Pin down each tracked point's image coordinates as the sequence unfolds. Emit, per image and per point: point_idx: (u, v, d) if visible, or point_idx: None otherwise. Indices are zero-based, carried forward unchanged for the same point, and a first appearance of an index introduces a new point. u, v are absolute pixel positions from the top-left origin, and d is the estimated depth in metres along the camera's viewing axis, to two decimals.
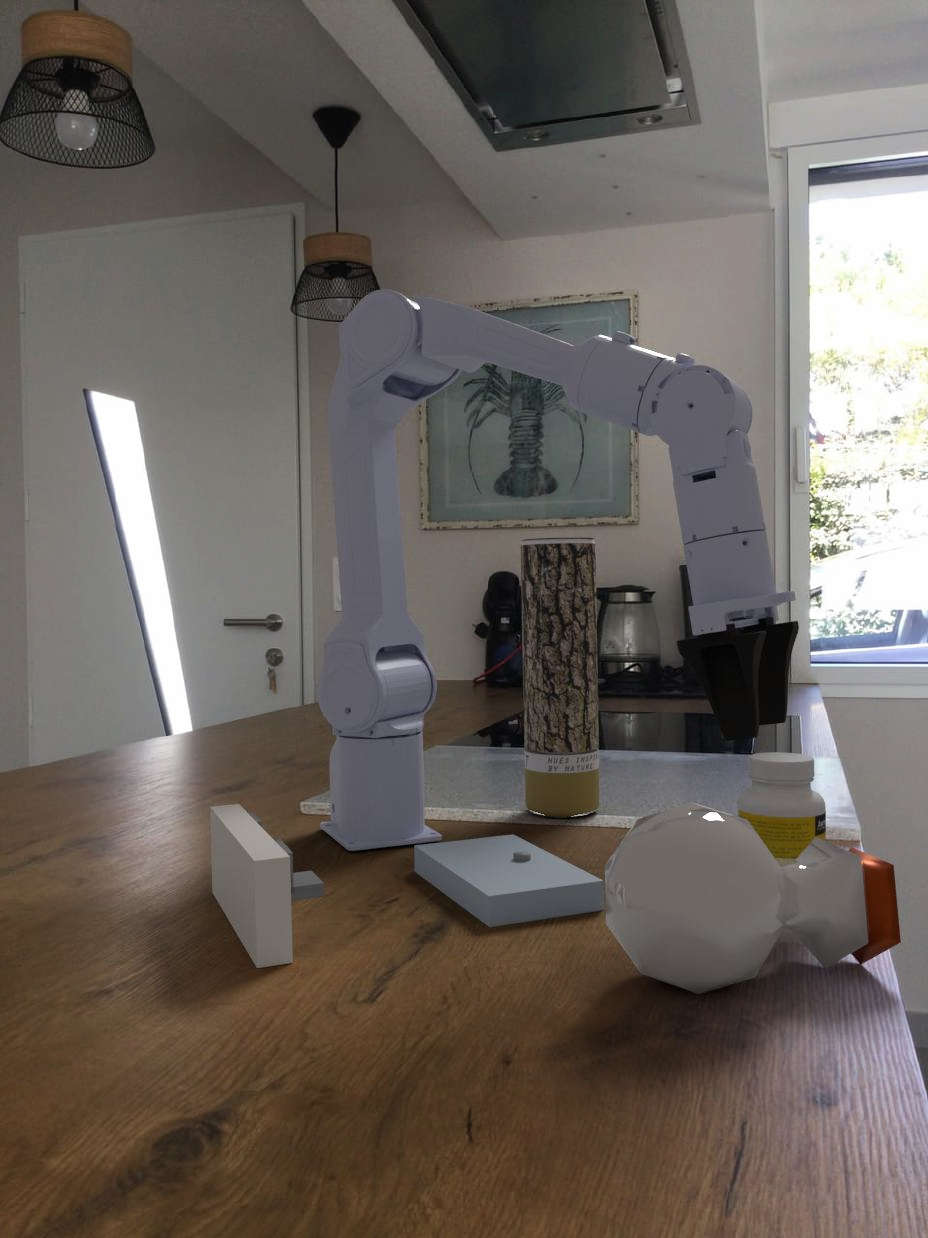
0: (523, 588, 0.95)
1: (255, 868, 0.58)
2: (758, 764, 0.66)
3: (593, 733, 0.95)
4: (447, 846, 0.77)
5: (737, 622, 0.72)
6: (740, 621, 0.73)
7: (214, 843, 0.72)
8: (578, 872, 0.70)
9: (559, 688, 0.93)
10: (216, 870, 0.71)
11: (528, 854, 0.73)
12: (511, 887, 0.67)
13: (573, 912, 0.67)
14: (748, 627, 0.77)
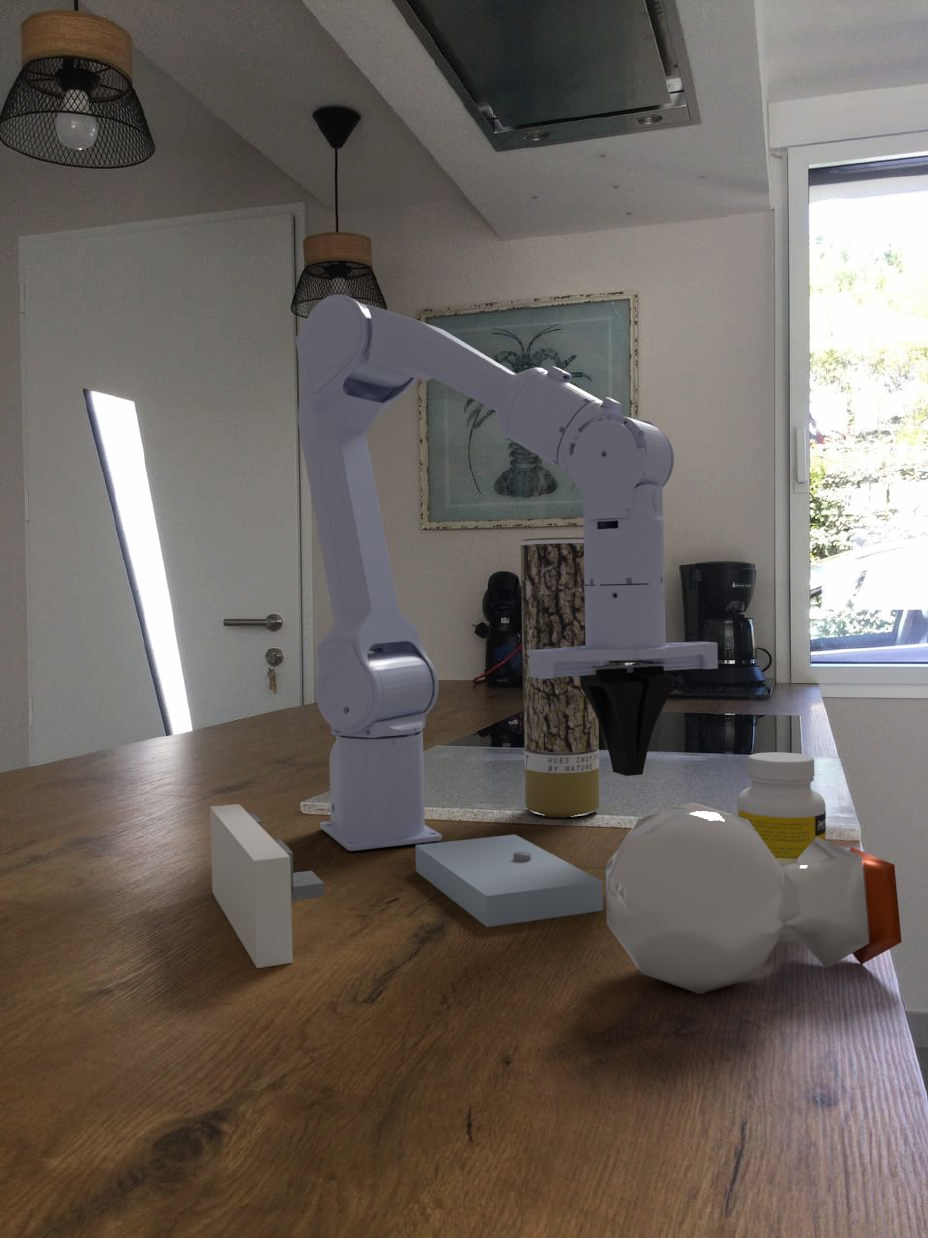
0: (523, 588, 0.95)
1: (255, 868, 0.58)
2: (758, 764, 0.66)
3: (593, 733, 0.95)
4: (448, 846, 0.77)
5: (610, 668, 0.75)
6: (619, 667, 0.76)
7: (214, 843, 0.72)
8: (577, 872, 0.70)
9: (559, 688, 0.93)
10: (216, 870, 0.71)
11: (528, 854, 0.73)
12: (509, 887, 0.67)
13: (571, 912, 0.67)
14: (627, 673, 0.77)
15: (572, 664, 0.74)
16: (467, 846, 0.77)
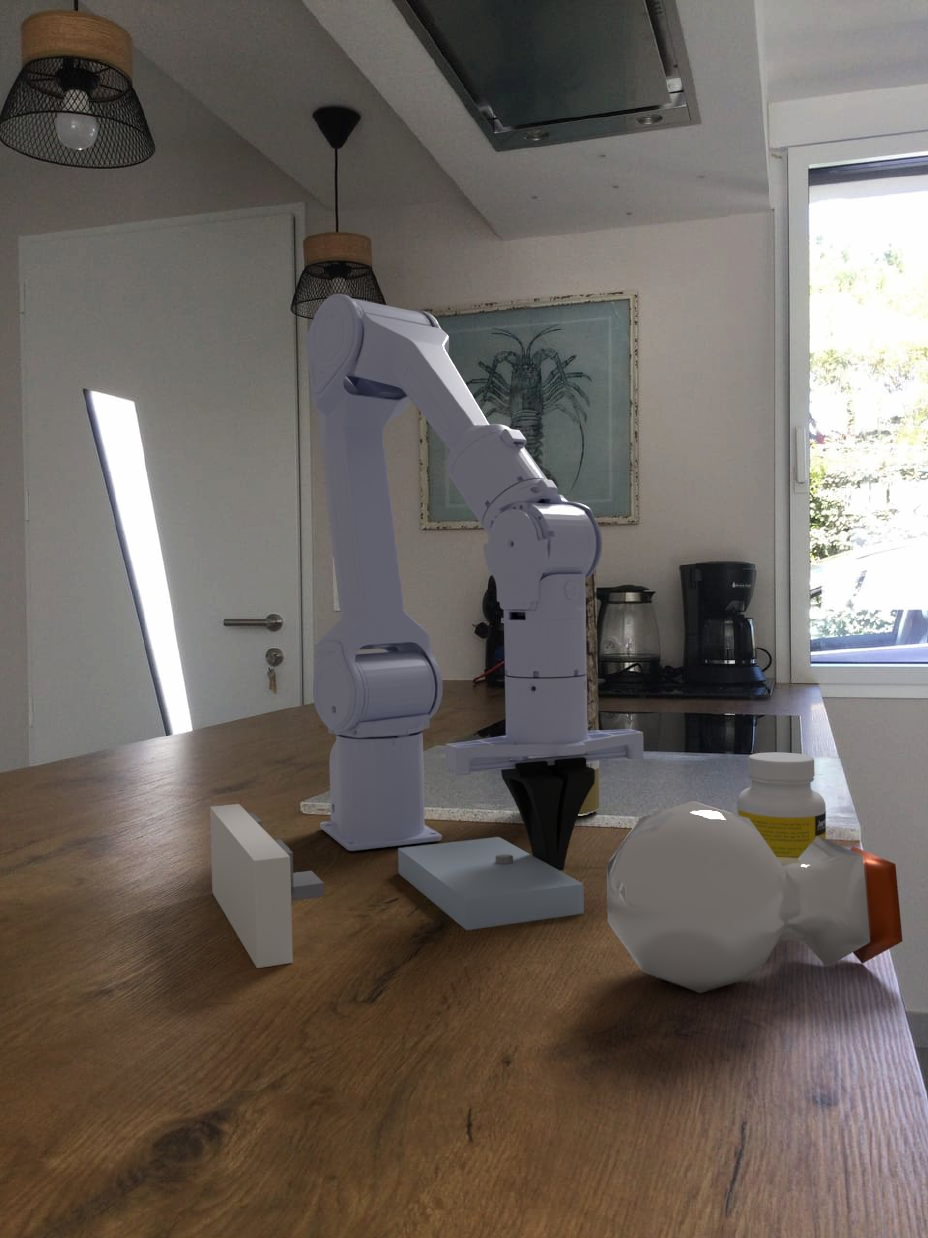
0: None
1: (255, 868, 0.58)
2: (758, 764, 0.66)
3: None
4: (431, 849, 0.77)
5: (530, 761, 0.73)
6: (540, 760, 0.73)
7: (214, 843, 0.72)
8: (559, 875, 0.69)
9: None
10: (216, 870, 0.71)
11: (510, 857, 0.73)
12: (489, 890, 0.66)
13: (552, 916, 0.66)
14: (549, 765, 0.75)
15: (490, 758, 0.72)
16: (450, 849, 0.77)
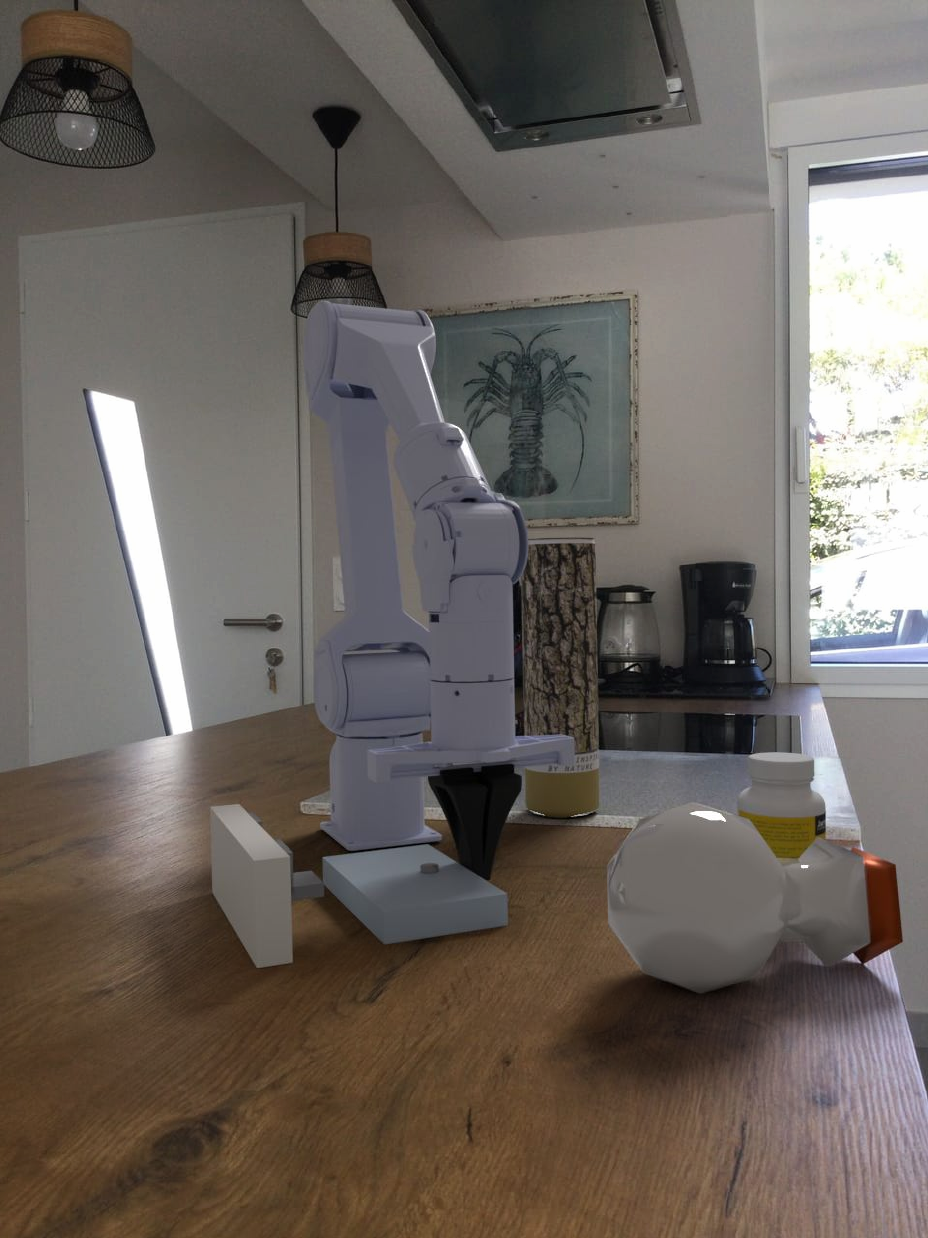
0: (523, 588, 0.95)
1: (255, 868, 0.58)
2: (758, 764, 0.66)
3: (593, 733, 0.95)
4: (356, 857, 0.75)
5: (455, 768, 0.71)
6: (466, 767, 0.71)
7: (214, 843, 0.72)
8: (483, 885, 0.67)
9: (559, 688, 0.93)
10: (216, 870, 0.71)
11: (435, 866, 0.70)
12: (409, 901, 0.64)
13: (475, 927, 0.64)
14: (476, 771, 0.72)
15: (413, 765, 0.70)
16: (376, 857, 0.74)
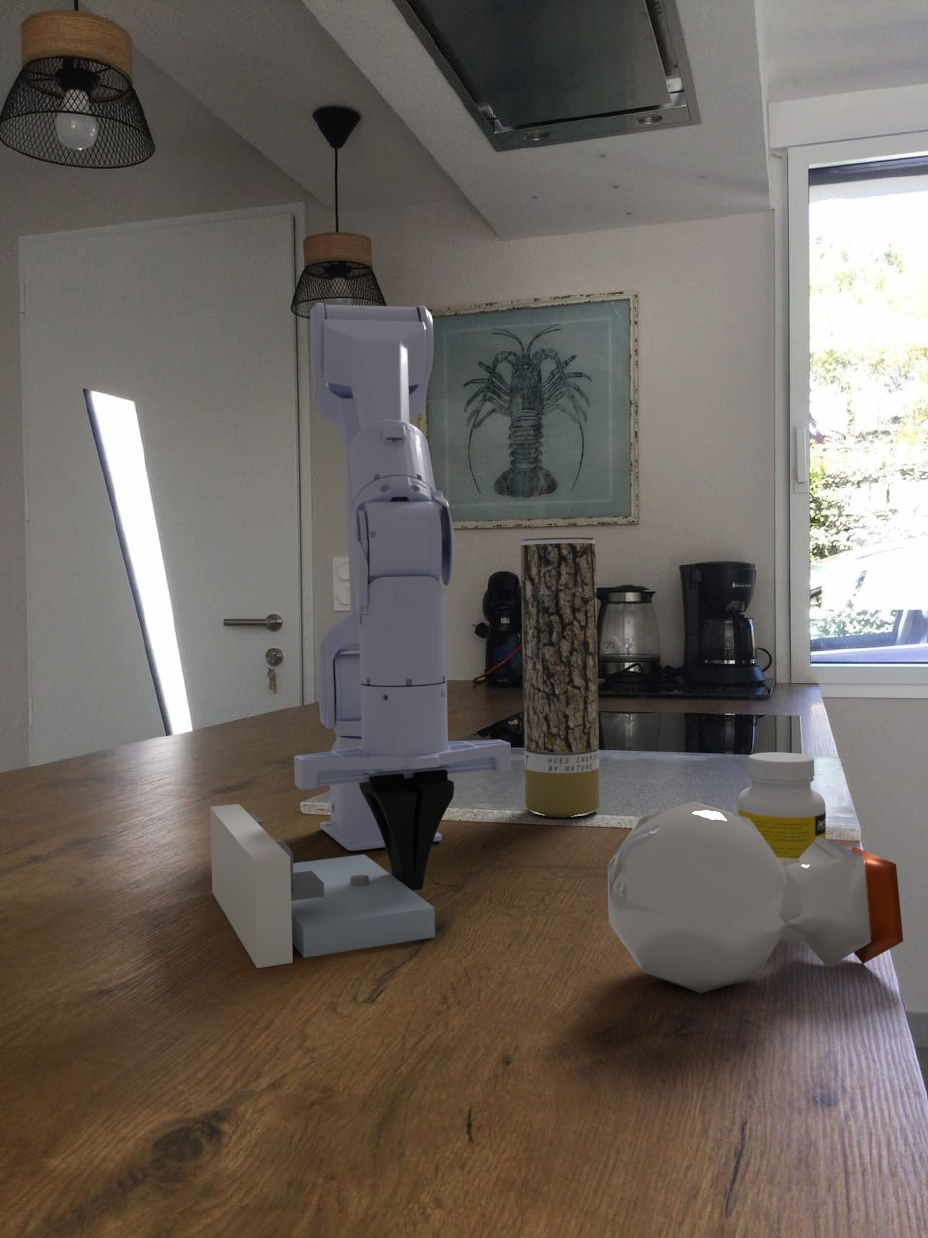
0: (523, 588, 0.95)
1: (255, 868, 0.58)
2: (757, 764, 0.66)
3: (593, 733, 0.95)
4: None
5: (386, 774, 0.69)
6: (397, 773, 0.69)
7: (214, 843, 0.72)
8: (412, 898, 0.65)
9: (559, 688, 0.93)
10: (216, 870, 0.71)
11: (366, 878, 0.68)
12: (332, 916, 0.62)
13: (400, 942, 0.62)
14: (409, 777, 0.71)
15: (341, 771, 0.68)
16: (308, 868, 0.72)
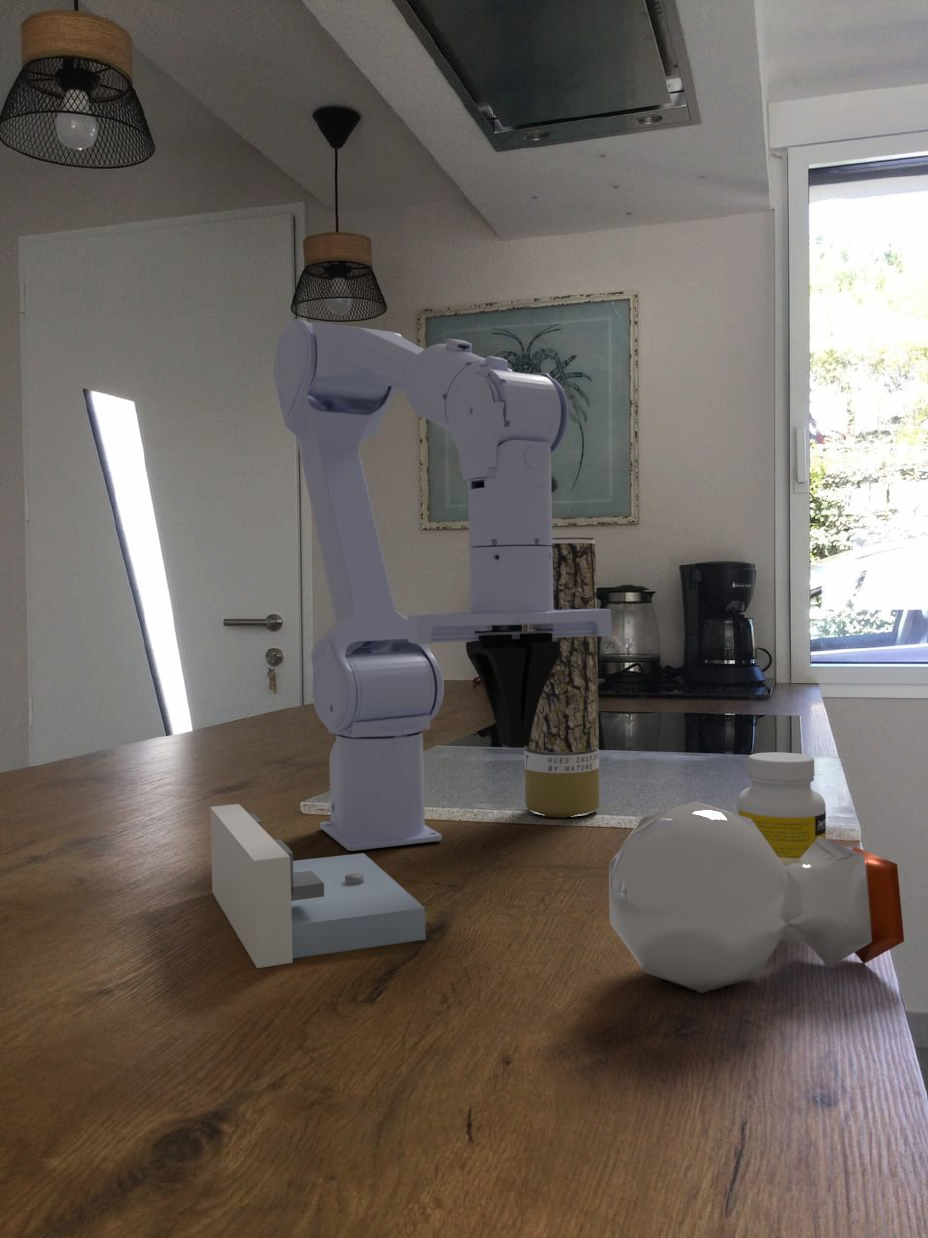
0: None
1: (255, 868, 0.58)
2: (758, 764, 0.66)
3: (593, 733, 0.95)
4: None
5: (494, 634, 0.72)
6: (505, 633, 0.72)
7: (214, 843, 0.72)
8: (404, 898, 0.65)
9: (559, 688, 0.93)
10: (216, 870, 0.71)
11: (360, 877, 0.68)
12: (322, 914, 0.62)
13: (390, 942, 0.62)
14: (515, 640, 0.73)
15: (453, 629, 0.71)
16: (305, 867, 0.72)
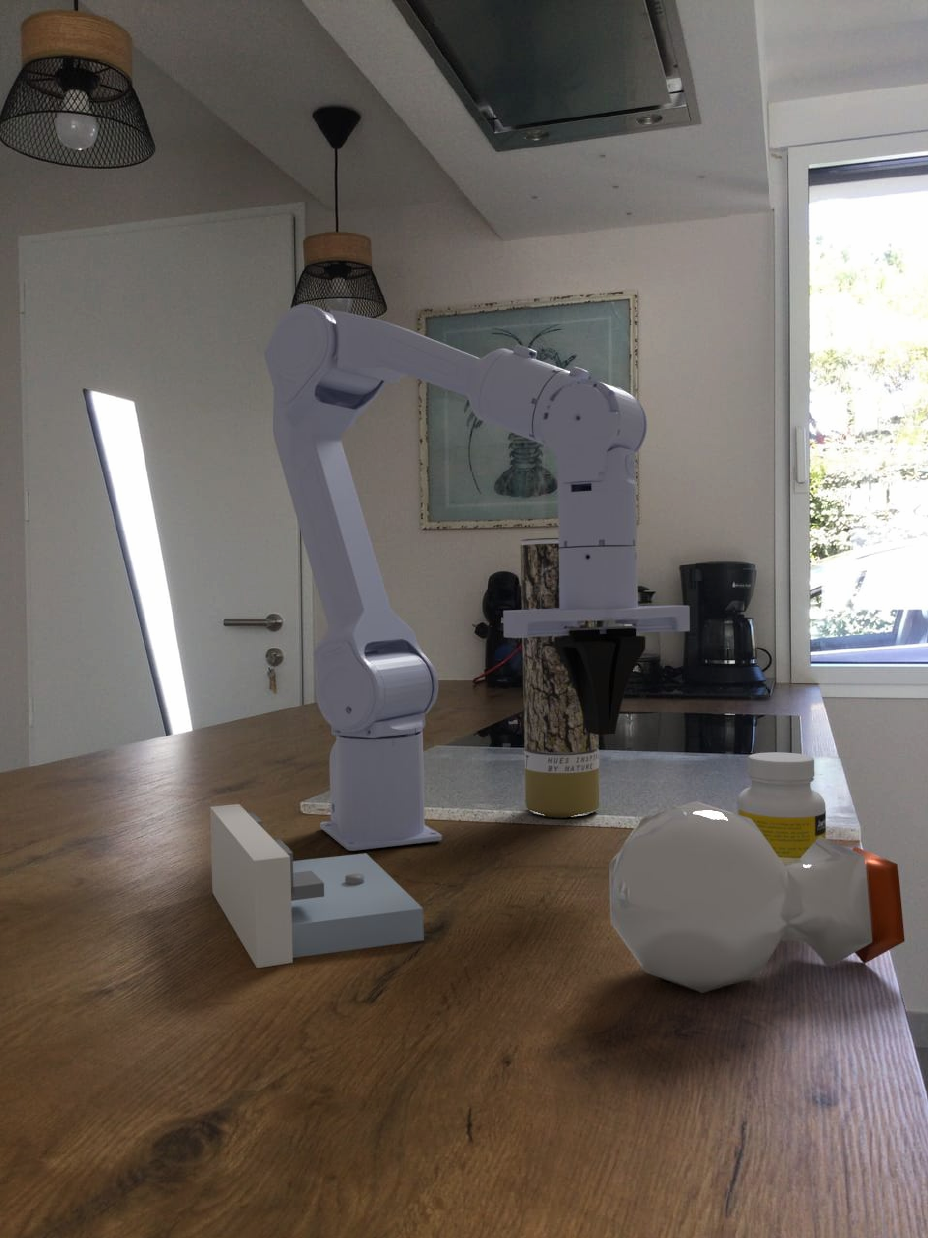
0: (523, 588, 0.95)
1: (255, 868, 0.58)
2: (758, 764, 0.66)
3: None
4: None
5: (583, 629, 0.77)
6: (592, 628, 0.77)
7: (214, 843, 0.72)
8: (403, 898, 0.65)
9: (559, 688, 0.93)
10: (216, 870, 0.71)
11: (360, 877, 0.68)
12: (320, 914, 0.62)
13: (387, 942, 0.62)
14: (600, 635, 0.78)
15: (545, 624, 0.76)
16: (307, 867, 0.73)
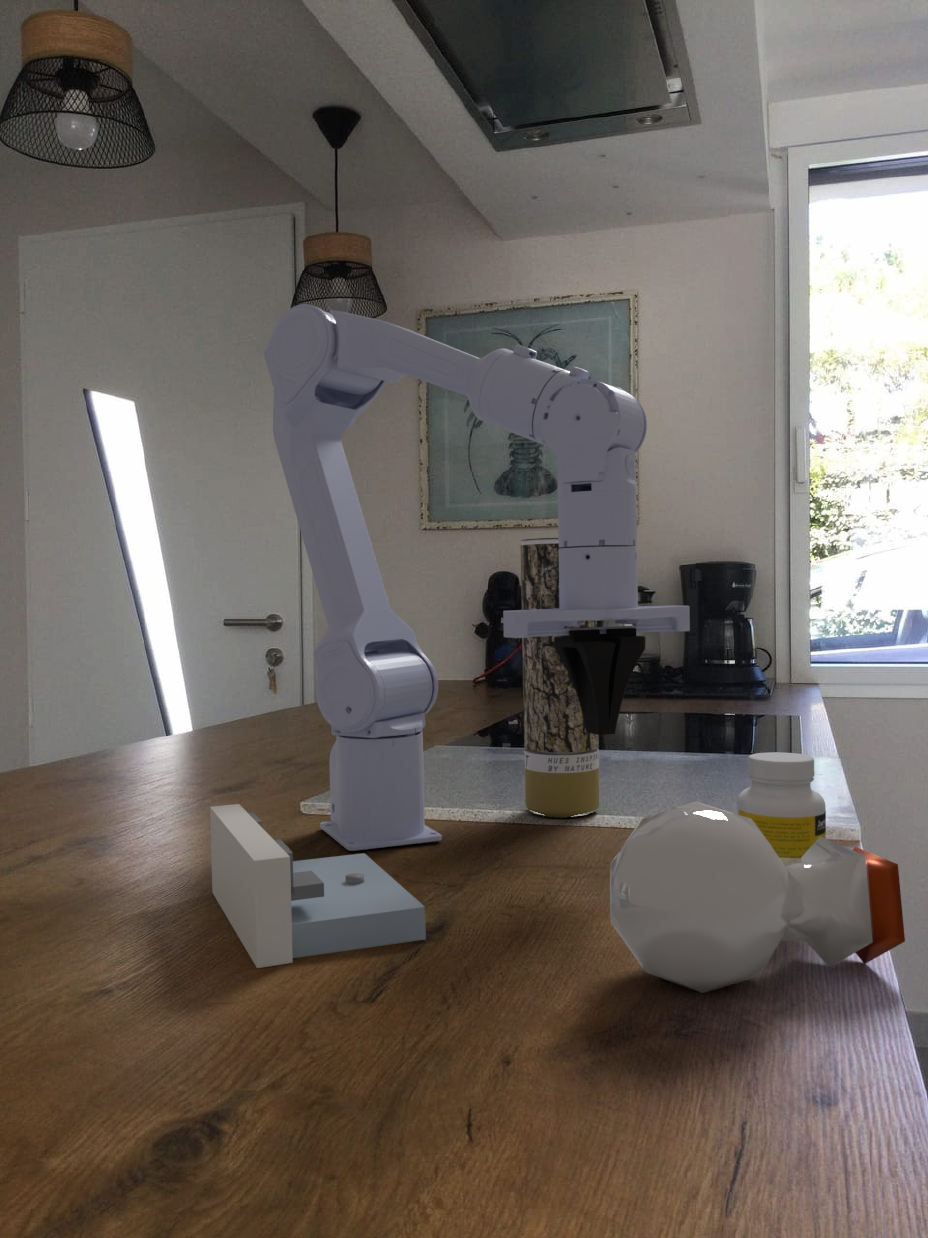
0: (523, 588, 0.95)
1: (255, 868, 0.58)
2: (758, 764, 0.66)
3: None
4: None
5: (583, 629, 0.77)
6: (592, 628, 0.77)
7: (214, 843, 0.72)
8: (404, 897, 0.65)
9: (559, 688, 0.93)
10: (216, 870, 0.71)
11: (361, 876, 0.68)
12: (322, 914, 0.62)
13: (390, 941, 0.62)
14: (600, 635, 0.78)
15: (545, 624, 0.76)
16: (306, 867, 0.72)
